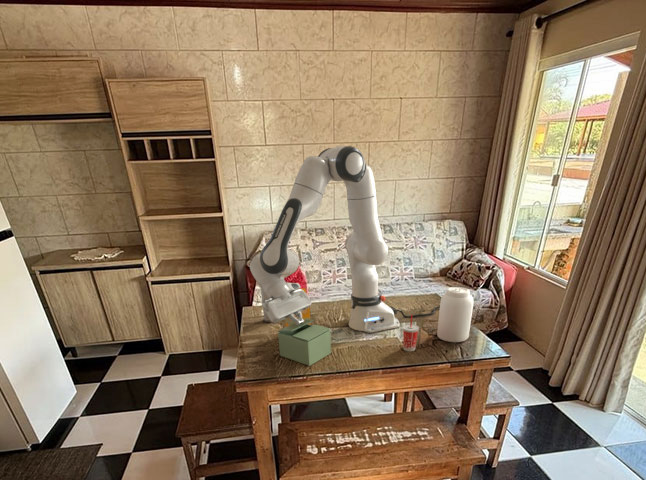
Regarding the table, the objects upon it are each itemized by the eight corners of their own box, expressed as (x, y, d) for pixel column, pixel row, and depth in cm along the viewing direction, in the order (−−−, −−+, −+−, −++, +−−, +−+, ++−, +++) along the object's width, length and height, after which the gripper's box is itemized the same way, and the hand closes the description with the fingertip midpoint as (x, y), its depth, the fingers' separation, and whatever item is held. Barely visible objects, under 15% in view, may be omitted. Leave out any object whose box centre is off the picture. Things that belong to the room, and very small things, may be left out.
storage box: (280, 355, 157) (277, 330, 152) (302, 343, 166) (300, 320, 161) (309, 365, 149) (307, 340, 144) (331, 353, 158) (330, 328, 153)
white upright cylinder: (444, 344, 160) (450, 295, 151) (431, 332, 171) (436, 285, 162) (473, 341, 162) (481, 292, 152) (459, 329, 173) (466, 283, 163)
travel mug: (276, 322, 187) (271, 280, 177) (262, 322, 188) (257, 279, 178) (280, 317, 192) (276, 276, 183) (266, 317, 194) (262, 275, 184)
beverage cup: (415, 345, 161) (417, 311, 154) (418, 351, 156) (421, 317, 149) (399, 345, 161) (401, 312, 154) (403, 352, 156) (405, 318, 149)
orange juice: (286, 333, 176) (282, 288, 166) (305, 330, 178) (302, 285, 169) (291, 340, 169) (288, 293, 159) (311, 336, 172) (309, 290, 162)
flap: (278, 331, 152) (277, 330, 152) (300, 321, 161) (300, 320, 161) (291, 331, 148) (291, 330, 147) (314, 320, 156) (314, 319, 156)
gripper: (263, 296, 144) (285, 328, 143) (301, 282, 157) (322, 311, 157) (256, 306, 148) (277, 337, 148) (293, 291, 162) (313, 319, 161)
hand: (300, 323), depth 152 cm, fingers closed
